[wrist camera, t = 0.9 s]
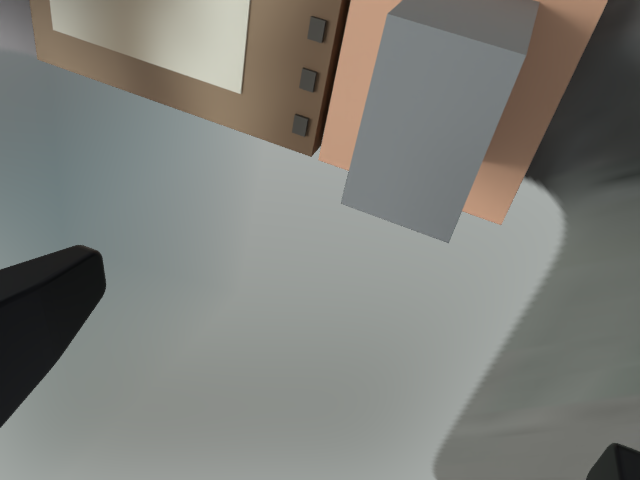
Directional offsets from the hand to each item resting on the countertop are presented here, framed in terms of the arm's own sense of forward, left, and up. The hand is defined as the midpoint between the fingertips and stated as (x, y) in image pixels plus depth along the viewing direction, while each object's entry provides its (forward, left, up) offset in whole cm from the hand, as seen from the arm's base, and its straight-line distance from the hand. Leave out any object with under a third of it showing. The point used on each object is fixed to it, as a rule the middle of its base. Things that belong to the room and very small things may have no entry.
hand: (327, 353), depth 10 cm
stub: (-1, -1, -12) cm, 12 cm away
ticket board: (+6, -8, -12) cm, 16 cm away
